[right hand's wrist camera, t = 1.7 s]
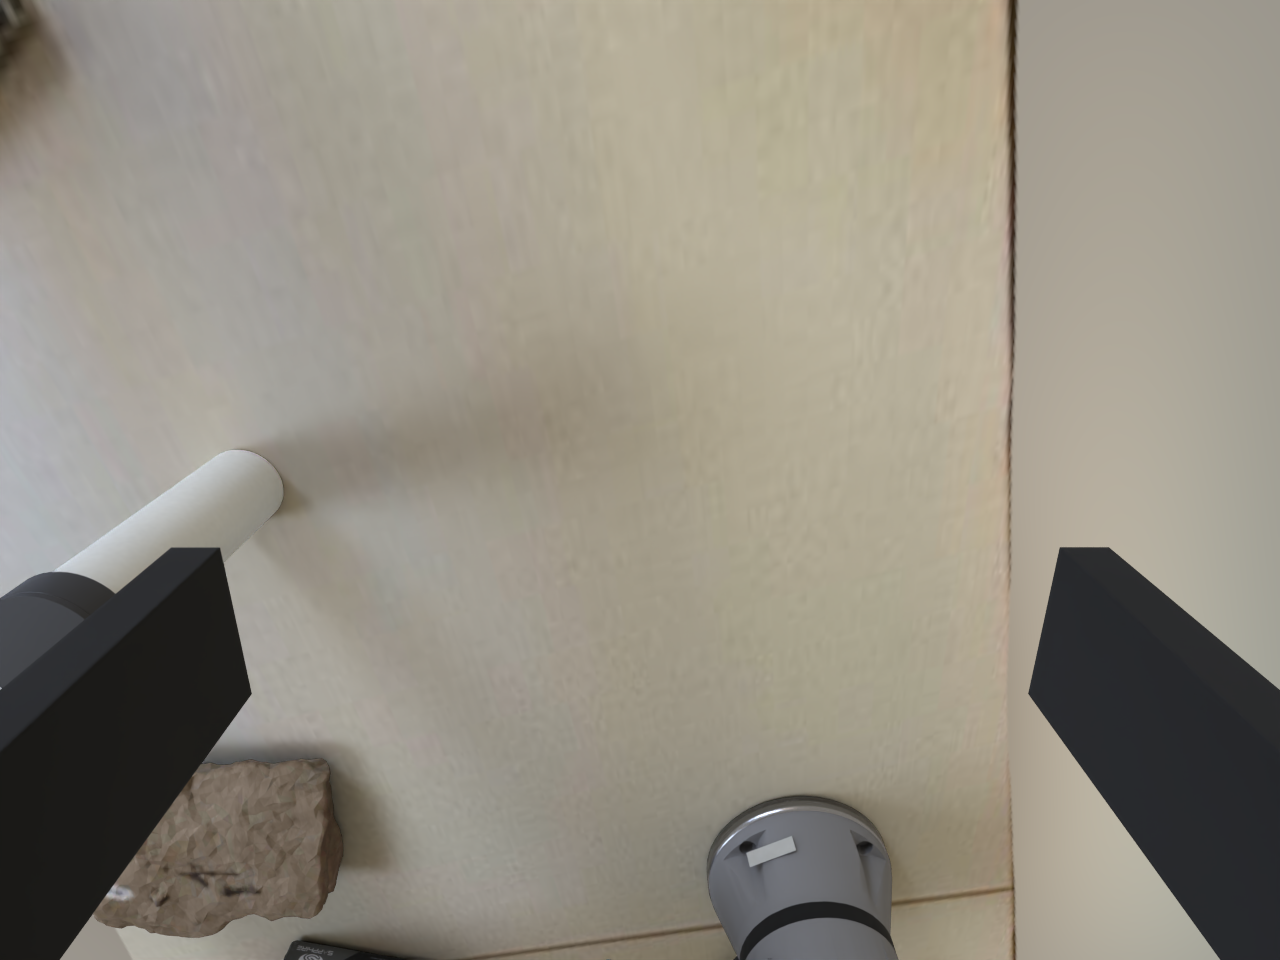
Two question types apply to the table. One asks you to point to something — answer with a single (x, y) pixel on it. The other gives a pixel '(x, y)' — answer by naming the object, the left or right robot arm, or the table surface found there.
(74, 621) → the lid
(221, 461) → the white bottle
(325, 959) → the graphics card box
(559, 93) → the table surface
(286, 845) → the stone
